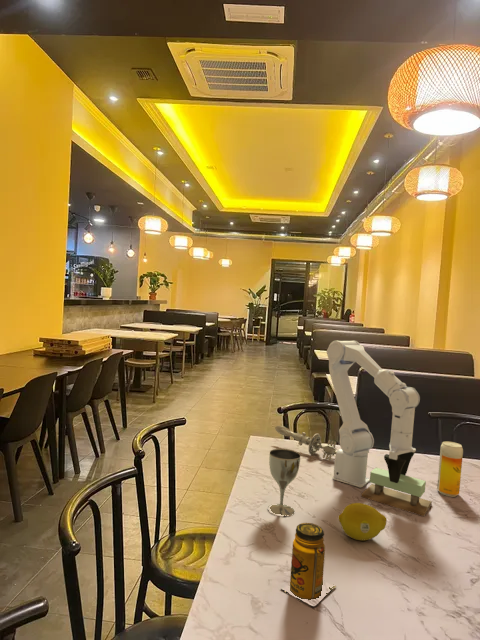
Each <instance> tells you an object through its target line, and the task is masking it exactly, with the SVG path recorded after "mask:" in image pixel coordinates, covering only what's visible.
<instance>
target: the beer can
mask: <svg viewBox="0 0 480 640" xmlns="http://www.w3.org/2000/svg"><path fill="white" fill-rule="evenodd" d="M439 449H440V451H439V462H438V463H439V464H438V473H437V474H438V475H437V487H436V489H437V491H438V492H439V493H440V495H443V496H446V497H451V498H455V497H457V496H458V495H459V494H460V491H461V490H460V488H461V478H462V467H463V466H462V465H463V455H464V449H463V446H462V444H460V443H457V442H454V441H448V440H447V441H442V442H441V445H440V448H439Z"/></svg>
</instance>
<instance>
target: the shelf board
mask: <svg viewBox="0 0 480 640" xmlns="http://www.w3.org/2000/svg"><path fill="white" fill-rule="evenodd" d="M369 479H370V481H369V483H370V484H374V485H375V484H377V485H381V486H384V487H385V488H388V489H391V490H395V491H398V492H401V493H405V494H408V495H414V496H418V497H420V498H421V497H422V496H423V494H424V493H425V492H426V482H427V481H426V480H423V479H420V478H416V477H413V476H409V475H407V474H406V475H402V474H401V475H400V479H399V482H398V483H394V482H391V481H390V478H389V472H388V469H383V468H380V467H375V468H373V470H371V471H370V473H369Z"/></svg>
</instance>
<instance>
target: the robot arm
mask: <svg viewBox="0 0 480 640" xmlns="http://www.w3.org/2000/svg"><path fill="white" fill-rule="evenodd" d="M326 355H327V358H328V370H329V375H330V379H331V383H332V386H333V390H334V393H335V397H336V398H335V399H336V401H337V404H338V409H339V412H340V416H341V420H342V425H341V426H340V427H339V430H338V434H339V446H340V448H339V449H337V450H336V451H337V453H336V454H335V456H334V465H333V477H332V480H334V481H338V482H341V483H345V484H347V485H350V486H354V487H357V488H360V489H361V488H363V487H364V486H366V485H367V484H368V483H370V477H369V478H368V477H367V469H368V455H369V453H370V450H371V449H373V447H374V444H375V439H374V436H373V434H372V432H370V429H369V427H368V424H367V423H365V422H364V421H363V420H362V419H361V415H360V413H359V410H358V406H357V402H356V398H355V395H354V392H353V388H352V385H351V381H350V377H349V374H348V372H349V369H350V368H351V367H352V366H353V365H354V364H355V363H357V364H358V365H359V366H360V367H361V368H362V369H363V370H364V371H366V372H367V373H368V374H369V375H370V376H371V377H373V378H374V379H373V380H374V381H373V383H374V384H375V385H376V386H377V387H378V389H380V390H381V392H383V394H384V395H386V396H387V397H388V399H389V404H390V406H391V412H392V416H391V417H392V419H391V428H390V429H391V430H390V440H389V441H390V442H389V443H388V444H389V445H388V447H389V448H388V449H389V451H388V453H389V454H388V453H385V454H384V456H383V459H384V461H385V464H386V467H387V470H388V472H389V478H390V481H391V482H394V483H398V482H399V479H400V475H401V474H402V475H406V476H407V472H408V470H409V466H410V463H411V460H412V458H413V456H414V455H415V453H416V451H417V449H416V448H415V447H413V446H412V445H413V435H414V425H415V424H414V421H415V413H416V411H415V410H416V408H417V407H418V406H419V404H420V400H421V396H420V394H419V392H418V391H417V390H416V388H415V387H411V386H407V384H406V383H405V382H402V381H401V379H399V378H398V377H397V376H396V375H395V372H394V371H393V370H389V369H383V368H382V367H381V366H380V365H379V364H378V363H377V362H376V361H375V360H374V359H373V358H372V357H371V355H370V354H369V353H367V351H365V347H364V346H363V345H362V344H360V342H358V341H357V340H333V341H331V342H330V344H329V345H328V348H327V349H326Z"/></svg>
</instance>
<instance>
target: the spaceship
mask: <svg viewBox="0 0 480 640" xmlns="http://www.w3.org/2000/svg"><path fill="white" fill-rule="evenodd" d="M274 430H275V431H276V433H278V434H280V435H282V436H285V437H291V438H293V439H294V440H295V441H297V442H298V445H299V446H302V445H305V446H308V453H309V455H315V454H316V453H317V452H318V451H320V449H322V452H323V454H322V459H325V460H328V462H330V461H331V459H332V457H335V456H336V453H337V451H338V449H337V447H336V445H337V442H336V441H334V440H332V439H328V442H327V443H322V436H321V434H320V433H319V432H318V433H315V434H314V435H313V436H312V437H309V436H306V435H307V432H304V431H303V432H301V433H300V432H299V433H297V432H293V431H292V430H291V429H289V428H288V427H286V426H284V425H283V426H282V425H276V426H274Z"/></svg>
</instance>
